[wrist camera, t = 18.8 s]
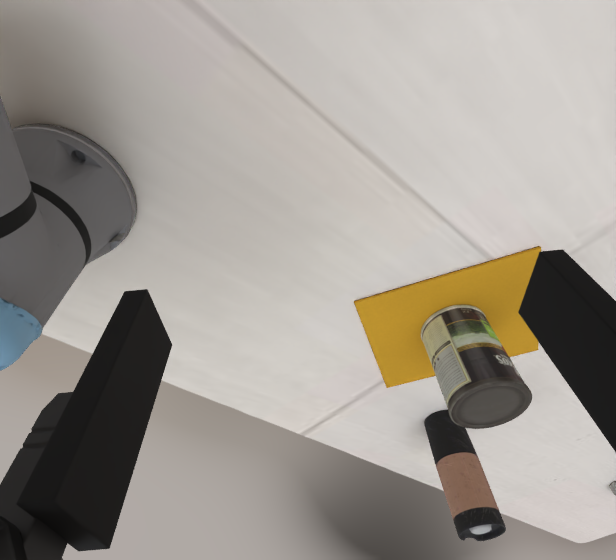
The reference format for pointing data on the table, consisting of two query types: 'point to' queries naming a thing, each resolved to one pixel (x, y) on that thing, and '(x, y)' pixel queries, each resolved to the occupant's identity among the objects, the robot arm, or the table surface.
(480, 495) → the travel mug
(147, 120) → the table surface
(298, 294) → the table surface
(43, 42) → the table surface
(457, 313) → the coffee can
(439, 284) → the cloth
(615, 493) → the egg carton
